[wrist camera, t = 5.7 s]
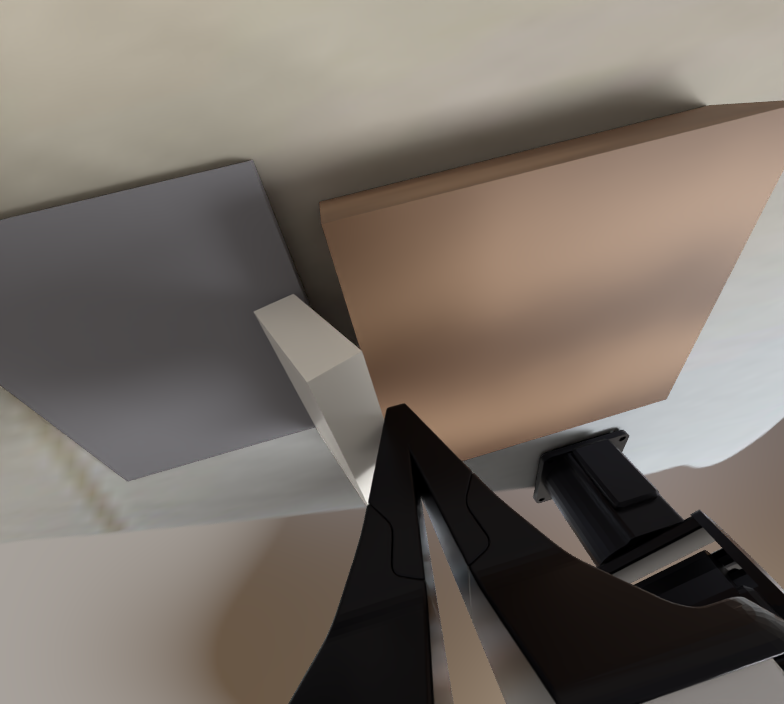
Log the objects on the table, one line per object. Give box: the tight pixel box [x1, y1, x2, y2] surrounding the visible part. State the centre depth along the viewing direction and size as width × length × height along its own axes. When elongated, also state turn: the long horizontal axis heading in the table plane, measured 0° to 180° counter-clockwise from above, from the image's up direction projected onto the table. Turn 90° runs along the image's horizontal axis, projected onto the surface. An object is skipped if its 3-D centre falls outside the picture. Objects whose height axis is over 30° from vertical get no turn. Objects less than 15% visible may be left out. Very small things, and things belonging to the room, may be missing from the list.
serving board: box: [319, 101, 784, 461], centre depth 13 cm, size 12×14×3 cm
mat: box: [0, 160, 315, 481], centre depth 12 cm, size 11×11×1 cm
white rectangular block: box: [254, 294, 384, 506], centre depth 11 cm, size 7×5×2 cm
